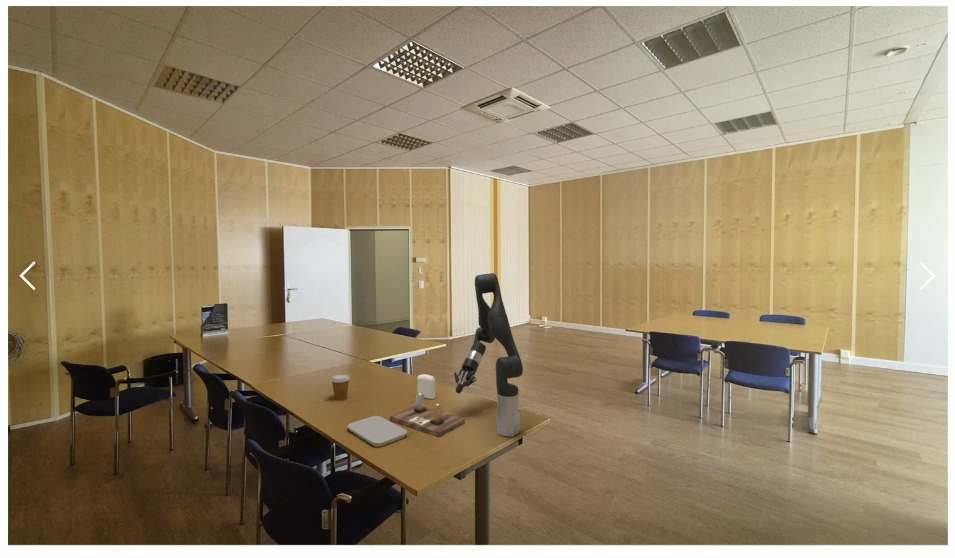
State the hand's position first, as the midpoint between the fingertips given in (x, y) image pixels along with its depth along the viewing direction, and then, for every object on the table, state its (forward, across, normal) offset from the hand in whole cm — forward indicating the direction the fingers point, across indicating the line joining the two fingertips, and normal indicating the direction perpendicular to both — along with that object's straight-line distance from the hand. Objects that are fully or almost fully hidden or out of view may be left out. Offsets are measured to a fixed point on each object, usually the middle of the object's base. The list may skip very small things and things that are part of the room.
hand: (457, 392), depth 192 cm
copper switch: (+17, 0, -3) cm, 17 cm away
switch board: (+17, -8, 0) cm, 19 cm away
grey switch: (+12, -16, +1) cm, 21 cm away
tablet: (+33, -18, -15) cm, 40 cm away
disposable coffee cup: (+19, -66, -4) cm, 69 cm away
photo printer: (0, -30, +16) cm, 34 cm away
